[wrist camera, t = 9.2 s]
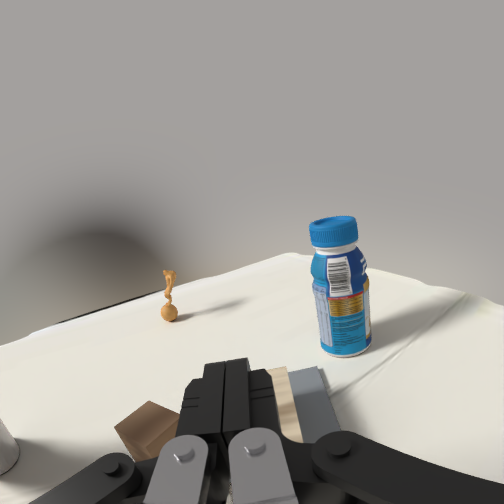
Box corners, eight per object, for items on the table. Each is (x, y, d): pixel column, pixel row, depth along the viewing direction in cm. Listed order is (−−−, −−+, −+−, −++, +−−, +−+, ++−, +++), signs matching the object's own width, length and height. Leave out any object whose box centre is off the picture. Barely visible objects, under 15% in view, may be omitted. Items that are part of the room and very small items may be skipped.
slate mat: (350, 460, 26) (350, 457, 26) (215, 483, 26) (213, 481, 26) (317, 369, 43) (316, 366, 43) (222, 387, 44) (221, 384, 44)
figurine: (163, 315, 76) (149, 269, 73) (186, 309, 77) (173, 263, 74) (163, 329, 68) (147, 278, 65) (189, 322, 69) (174, 271, 66)
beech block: (305, 450, 23) (286, 366, 37) (247, 460, 23) (245, 373, 37) (309, 479, 24) (291, 396, 38) (258, 488, 24) (253, 403, 38)
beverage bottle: (309, 349, 49) (289, 227, 44) (342, 327, 54) (328, 214, 49) (350, 366, 42) (336, 228, 38) (382, 338, 47) (373, 214, 42)
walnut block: (149, 480, 27) (113, 427, 25) (176, 455, 31) (148, 400, 29) (180, 499, 24) (145, 447, 22) (209, 470, 28) (182, 415, 26)
